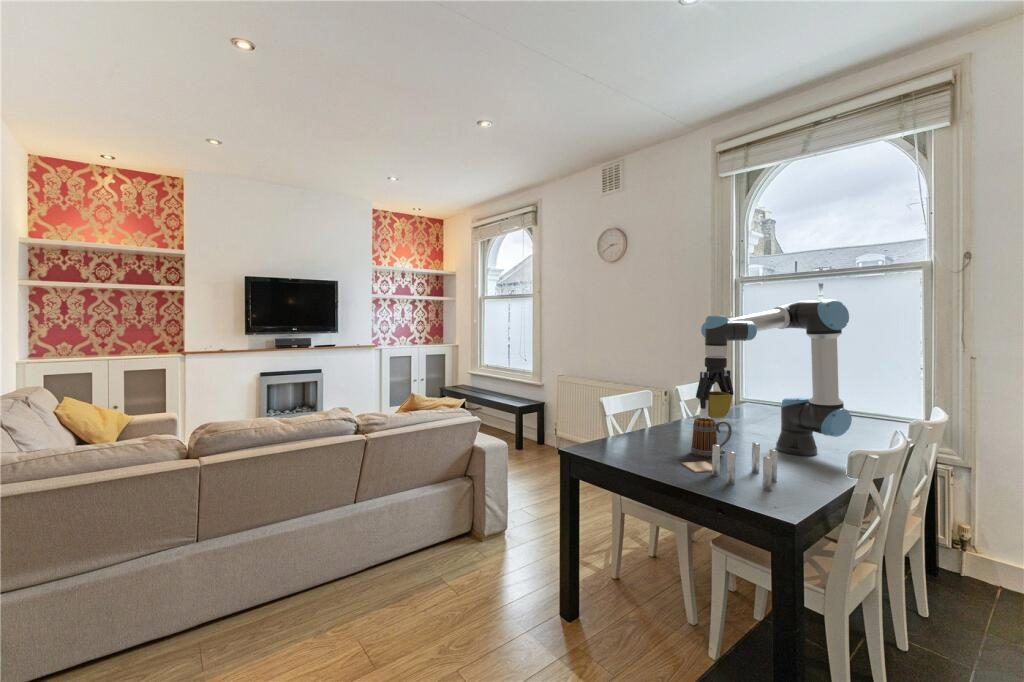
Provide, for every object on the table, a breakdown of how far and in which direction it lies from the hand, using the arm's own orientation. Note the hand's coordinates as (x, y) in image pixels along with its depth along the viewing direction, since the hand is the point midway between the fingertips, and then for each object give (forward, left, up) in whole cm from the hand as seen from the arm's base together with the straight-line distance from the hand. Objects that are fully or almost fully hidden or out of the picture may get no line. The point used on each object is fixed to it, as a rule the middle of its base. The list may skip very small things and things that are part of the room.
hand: (714, 415), depth 171 cm
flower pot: (0, 0, -1) cm, 1 cm away
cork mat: (+3, -4, -21) cm, 22 cm away
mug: (-10, -18, -21) cm, 30 cm away
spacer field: (-6, +12, -21) cm, 25 cm away
